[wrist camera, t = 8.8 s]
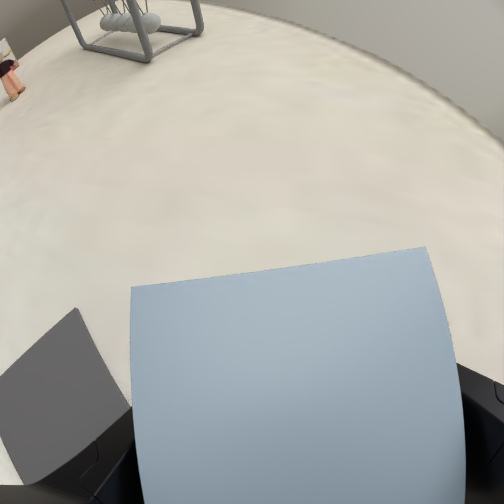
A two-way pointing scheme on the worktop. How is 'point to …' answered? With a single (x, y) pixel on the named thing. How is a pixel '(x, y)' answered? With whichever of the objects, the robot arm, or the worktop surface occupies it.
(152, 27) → the newton's cradle
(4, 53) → the ink cartridge box
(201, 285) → the cover
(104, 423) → the mat
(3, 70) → the grandmother figurine
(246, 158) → the worktop surface
